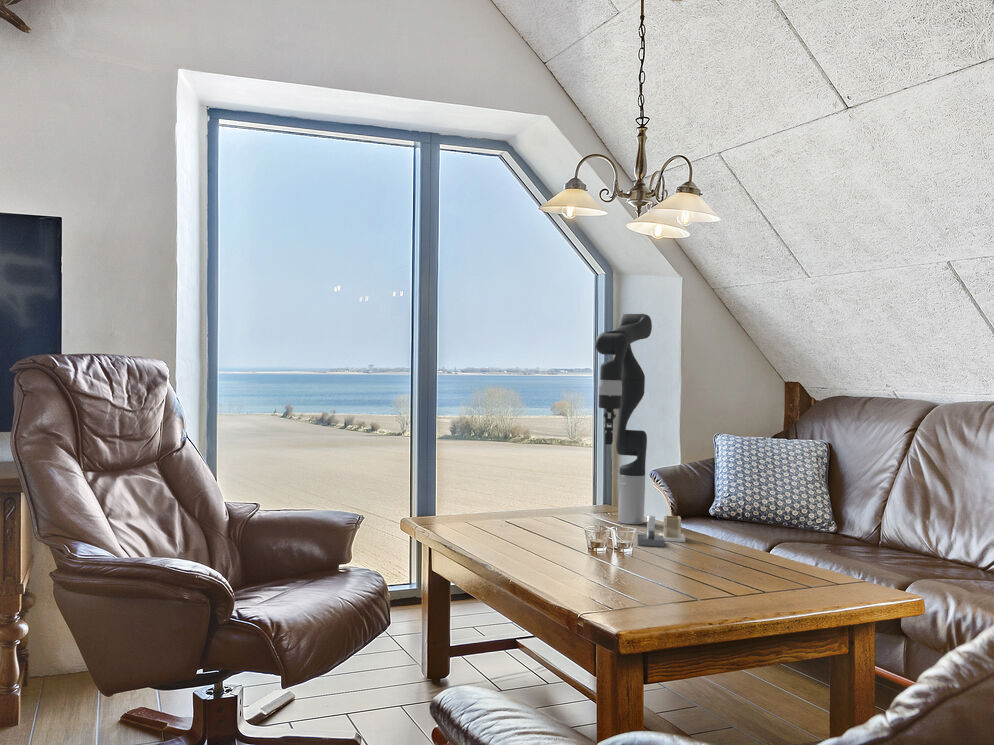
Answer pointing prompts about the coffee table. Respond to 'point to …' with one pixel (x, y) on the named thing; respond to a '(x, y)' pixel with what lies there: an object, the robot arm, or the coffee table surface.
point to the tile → (673, 538)
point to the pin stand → (650, 535)
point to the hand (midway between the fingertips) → (608, 443)
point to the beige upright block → (672, 526)
